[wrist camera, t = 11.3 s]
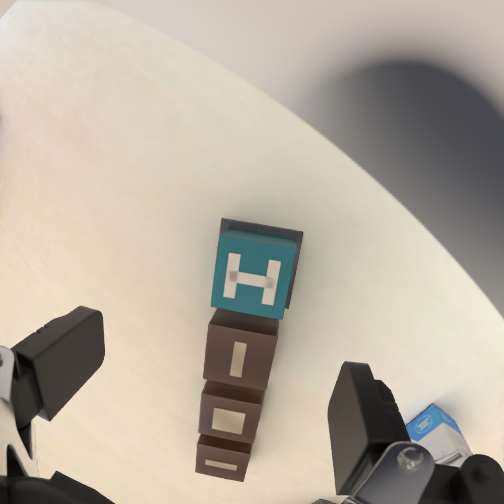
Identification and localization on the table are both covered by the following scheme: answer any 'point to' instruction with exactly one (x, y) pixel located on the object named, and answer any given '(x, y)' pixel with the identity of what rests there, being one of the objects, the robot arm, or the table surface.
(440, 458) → the ink box
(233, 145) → the table surface
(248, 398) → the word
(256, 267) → the teal letter h block
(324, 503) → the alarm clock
